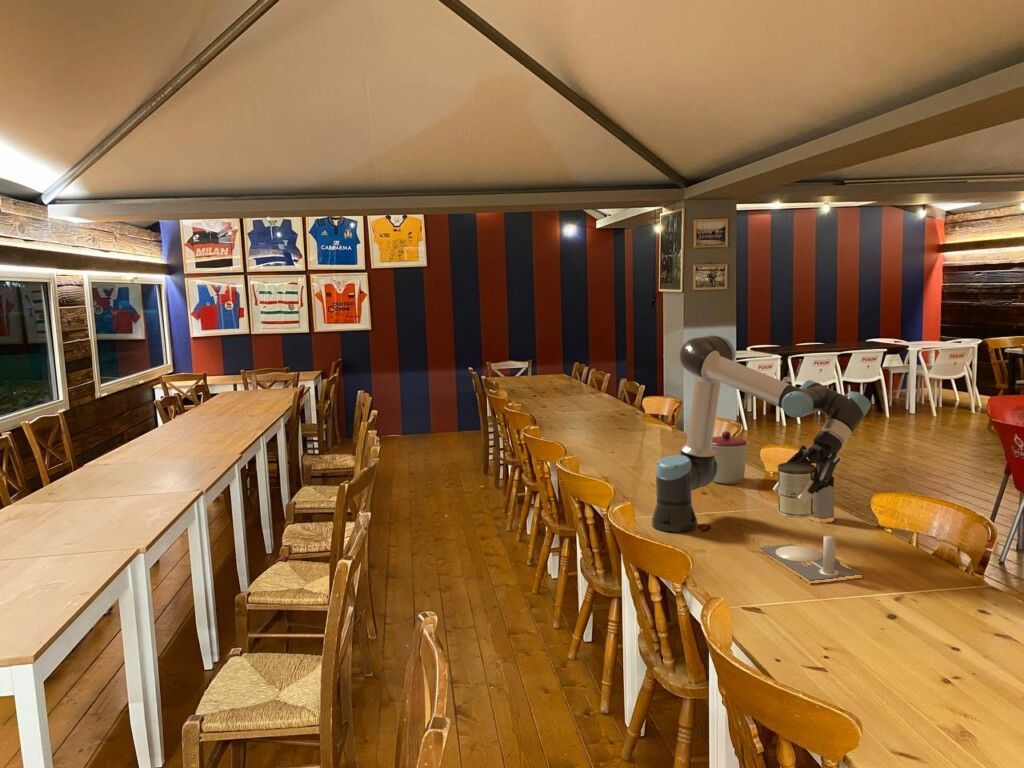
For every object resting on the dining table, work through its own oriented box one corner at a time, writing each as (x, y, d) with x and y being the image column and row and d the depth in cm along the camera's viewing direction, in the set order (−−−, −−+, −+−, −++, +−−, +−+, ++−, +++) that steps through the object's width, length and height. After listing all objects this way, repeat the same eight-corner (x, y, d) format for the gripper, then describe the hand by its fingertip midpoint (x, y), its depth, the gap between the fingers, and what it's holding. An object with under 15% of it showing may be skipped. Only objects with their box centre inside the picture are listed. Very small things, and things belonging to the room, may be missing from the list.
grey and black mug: (819, 524, 249) (819, 480, 247) (792, 512, 262) (792, 471, 260) (841, 521, 251) (841, 478, 249) (813, 509, 264) (813, 469, 263)
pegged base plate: (809, 584, 199) (809, 544, 198) (759, 551, 226) (759, 515, 224) (863, 578, 202) (863, 538, 201) (807, 546, 228) (807, 510, 227)
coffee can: (772, 509, 222) (772, 463, 220) (806, 507, 222) (806, 461, 220) (786, 519, 212) (785, 471, 210) (821, 517, 212) (821, 469, 210)
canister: (704, 486, 302) (704, 435, 299) (703, 475, 319) (703, 427, 317) (750, 487, 297) (750, 435, 295) (747, 476, 315) (747, 427, 312)
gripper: (868, 452, 209) (823, 514, 206) (811, 439, 230) (770, 494, 227) (853, 436, 207) (808, 498, 203) (797, 424, 228) (755, 480, 225)
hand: (788, 496), depth 215 cm, fingers closed on coffee can, 10 cm apart
